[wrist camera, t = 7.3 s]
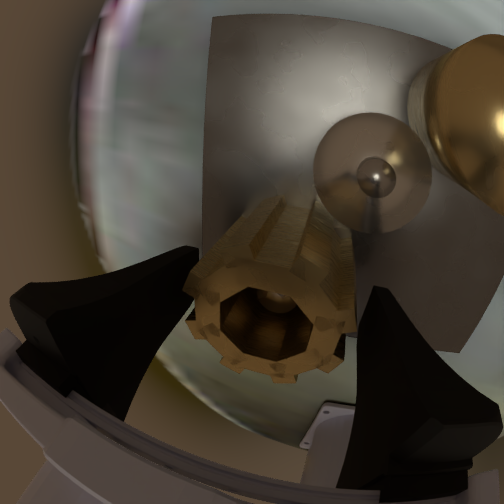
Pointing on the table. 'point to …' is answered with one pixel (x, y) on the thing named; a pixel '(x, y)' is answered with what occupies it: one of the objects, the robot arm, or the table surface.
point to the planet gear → (278, 281)
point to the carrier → (366, 154)
